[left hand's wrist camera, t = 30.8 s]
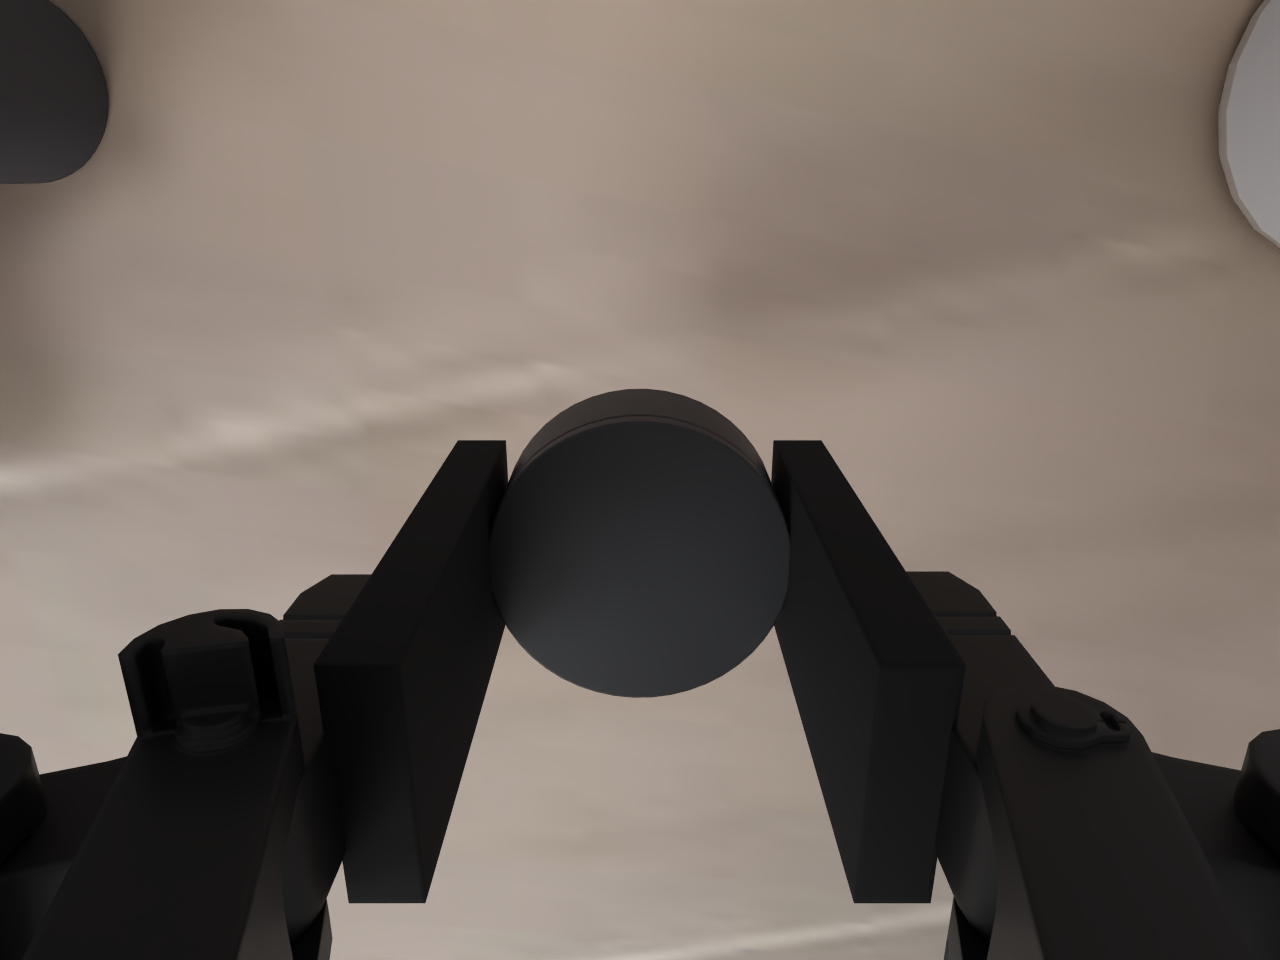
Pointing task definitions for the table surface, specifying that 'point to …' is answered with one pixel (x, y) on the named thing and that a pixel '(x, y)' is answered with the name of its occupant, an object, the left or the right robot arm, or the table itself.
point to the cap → (639, 545)
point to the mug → (1254, 122)
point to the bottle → (46, 94)
